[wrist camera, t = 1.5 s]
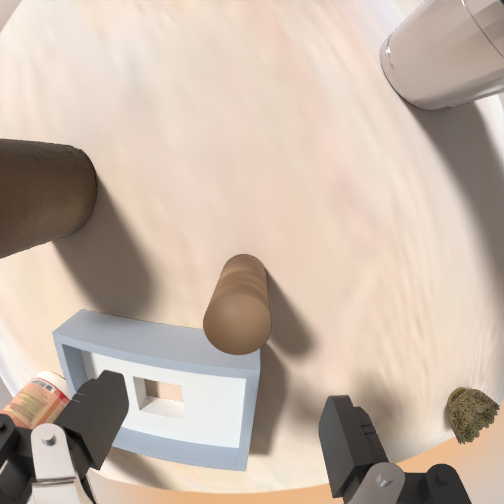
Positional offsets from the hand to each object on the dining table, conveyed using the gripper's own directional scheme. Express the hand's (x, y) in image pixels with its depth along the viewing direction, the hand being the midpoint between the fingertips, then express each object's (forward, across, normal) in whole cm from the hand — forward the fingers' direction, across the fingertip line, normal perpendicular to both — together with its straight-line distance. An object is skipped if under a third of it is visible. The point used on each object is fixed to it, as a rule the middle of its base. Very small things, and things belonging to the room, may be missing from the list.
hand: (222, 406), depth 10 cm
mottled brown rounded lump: (+17, -33, +17) cm, 41 cm away
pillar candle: (+17, +20, -7) cm, 27 cm away
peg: (+17, 0, 0) cm, 17 cm away
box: (+17, +8, +14) cm, 23 cm away
